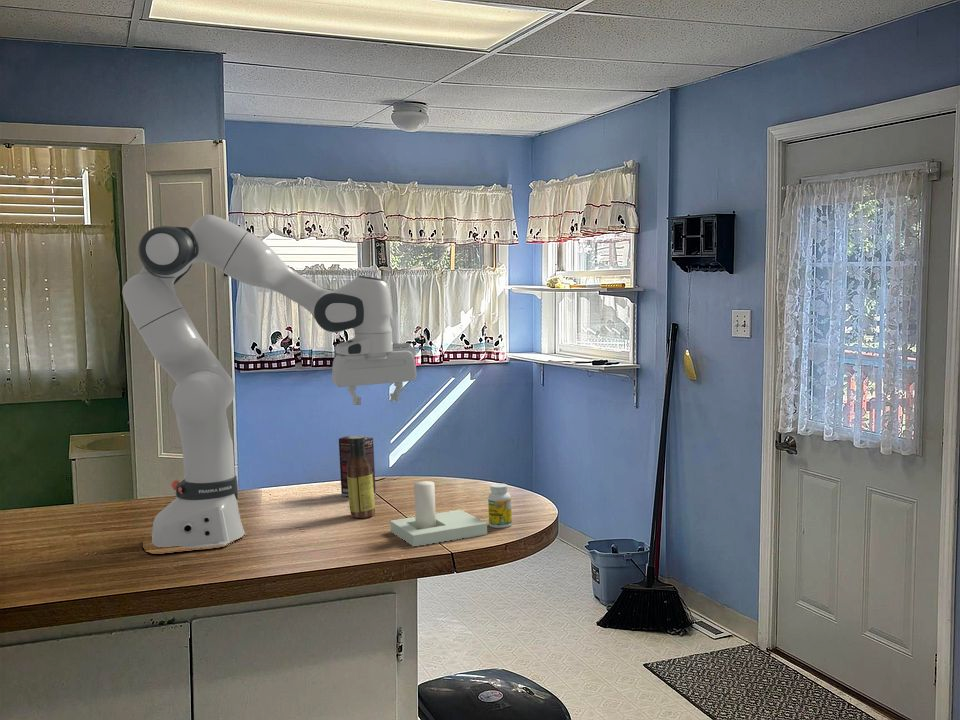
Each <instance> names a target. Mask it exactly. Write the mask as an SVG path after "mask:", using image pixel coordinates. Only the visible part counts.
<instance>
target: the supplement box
mask: <svg viewBox="0 0 960 720" xmlns="http://www.w3.org/2000/svg"><path fill="white" fill-rule="evenodd" d="M352 436H353V435H352ZM352 436H351V435H347V436H342V437H340V438H338V450H339V451H338V452H339V453H338V455H339V469H340V470H339V471H340V488H341V489H340V490H341V491H340V492H341V496H342V495H343V496H342V497H346V496H348V497H347V498H349V493H348V481H347V462H348V460H349V458H350V444H349V441H348V438H349V437H352ZM364 437H365V451H366V455H367V457H368V459H369V461H370V463H371V469H372V476H373V488H374V497H376V495H377V493H376V474H375V473H376V471H375V470H376V469H375V454H374V453H375V451H374V449H375V448H374V447H375V446H374V438H373V437H366V436H364Z"/></svg>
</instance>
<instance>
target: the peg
mask: <svg viewBox="0 0 960 720" xmlns="http://www.w3.org/2000/svg"><path fill="white" fill-rule="evenodd" d="M413 488H414V490H413V492H414V512H415V513H414V515H415V516H414V517H415V521H416V529H417V530H420V529H427V528H433V527H436V513H437V512H436V487H435V482H434V481H429V480H423V481H416V482H414V483H413Z"/></svg>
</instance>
